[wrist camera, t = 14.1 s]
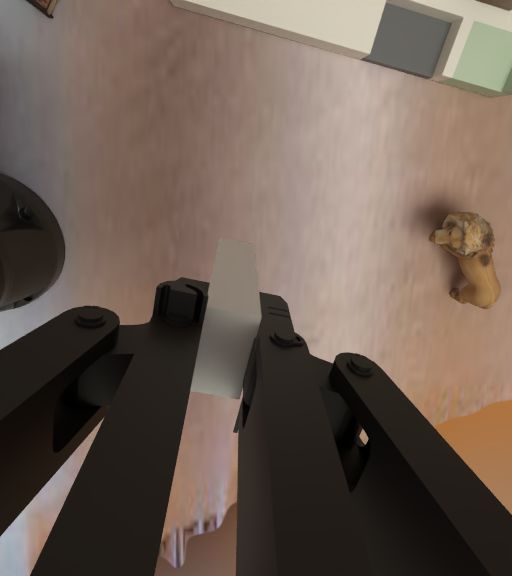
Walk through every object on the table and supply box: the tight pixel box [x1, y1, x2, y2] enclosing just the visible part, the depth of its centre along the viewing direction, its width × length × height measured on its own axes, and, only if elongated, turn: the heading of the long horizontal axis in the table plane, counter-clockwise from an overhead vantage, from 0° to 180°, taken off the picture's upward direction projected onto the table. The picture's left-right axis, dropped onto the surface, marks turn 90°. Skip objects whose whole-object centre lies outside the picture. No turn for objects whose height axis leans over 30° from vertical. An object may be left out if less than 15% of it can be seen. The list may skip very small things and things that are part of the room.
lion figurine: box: [430, 212, 501, 309], centre depth 40 cm, size 15×5×9 cm, turn 37°
